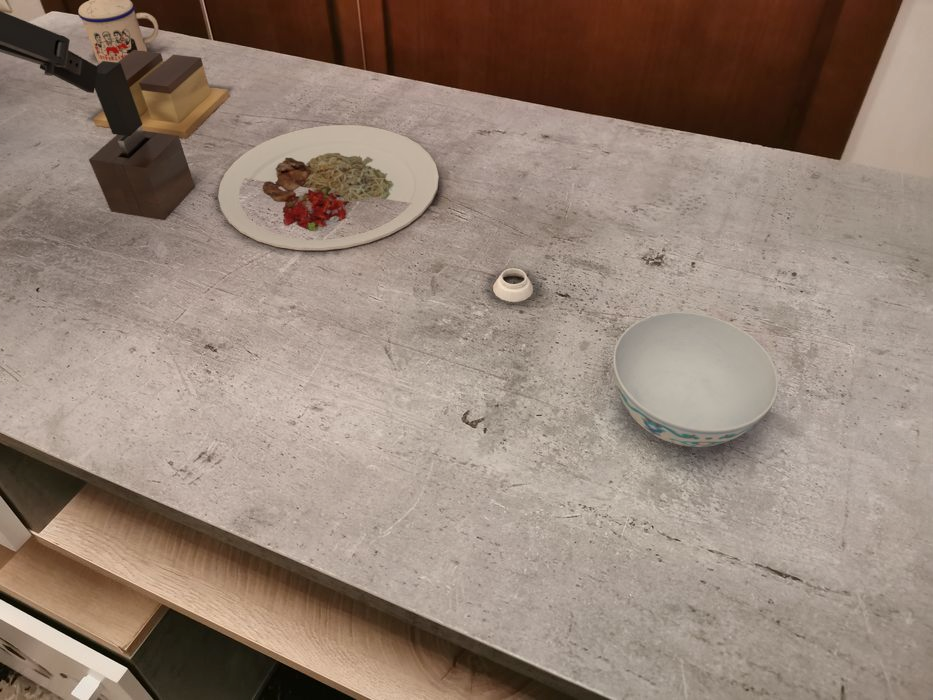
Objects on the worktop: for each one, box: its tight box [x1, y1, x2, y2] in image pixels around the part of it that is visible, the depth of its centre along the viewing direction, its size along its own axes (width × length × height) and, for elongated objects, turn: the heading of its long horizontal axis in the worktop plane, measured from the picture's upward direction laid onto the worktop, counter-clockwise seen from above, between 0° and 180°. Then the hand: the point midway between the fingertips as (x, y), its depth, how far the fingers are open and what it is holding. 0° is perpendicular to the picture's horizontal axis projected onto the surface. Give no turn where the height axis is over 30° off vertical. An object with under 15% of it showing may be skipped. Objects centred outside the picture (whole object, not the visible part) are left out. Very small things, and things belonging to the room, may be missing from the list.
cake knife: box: [94, 61, 146, 158], centre depth 92 cm, size 2×4×20 cm, turn 165°
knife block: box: [88, 131, 196, 221], centre depth 96 cm, size 8×8×9 cm
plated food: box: [217, 124, 439, 251], centre depth 100 cm, size 30×30×3 cm
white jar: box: [492, 267, 534, 303], centre depth 85 cm, size 5×3×5 cm
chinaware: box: [612, 311, 779, 448], centre depth 71 cm, size 15×15×8 cm
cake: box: [92, 50, 230, 139], centre depth 115 cm, size 16×14×7 cm
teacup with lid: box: [78, 0, 159, 64], centre depth 127 cm, size 12×9×12 cm
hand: (35, 73), depth 76 cm, fingers open, 13 cm apart
